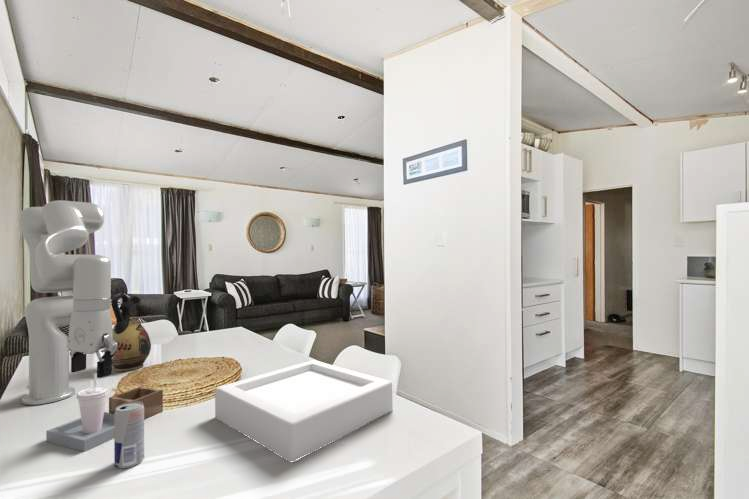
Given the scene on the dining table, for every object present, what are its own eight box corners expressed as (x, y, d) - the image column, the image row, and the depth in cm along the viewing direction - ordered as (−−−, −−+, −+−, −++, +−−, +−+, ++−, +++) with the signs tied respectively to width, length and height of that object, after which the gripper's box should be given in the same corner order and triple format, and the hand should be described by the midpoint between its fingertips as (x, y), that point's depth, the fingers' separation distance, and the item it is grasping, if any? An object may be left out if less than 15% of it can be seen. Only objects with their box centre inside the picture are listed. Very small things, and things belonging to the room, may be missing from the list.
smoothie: (90, 437, 88) (92, 378, 89) (68, 434, 90) (70, 376, 90) (114, 425, 95) (115, 370, 95) (93, 423, 96) (94, 368, 96)
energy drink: (123, 456, 82) (123, 401, 82) (149, 454, 82) (149, 400, 83) (108, 470, 77) (108, 412, 77) (135, 468, 77) (135, 410, 77)
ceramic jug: (126, 362, 155) (126, 290, 156) (159, 363, 153) (159, 290, 154) (89, 375, 139) (89, 295, 139) (126, 376, 136) (126, 295, 137)
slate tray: (46, 441, 89) (46, 430, 89) (98, 420, 100) (98, 410, 100) (84, 451, 84) (84, 440, 84) (135, 428, 95) (135, 418, 95)
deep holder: (108, 419, 100) (108, 397, 100) (140, 407, 109) (140, 386, 109) (132, 425, 97) (132, 402, 97) (162, 411, 105) (162, 390, 106)
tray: (214, 419, 101) (213, 387, 101) (313, 384, 128) (313, 359, 128) (291, 466, 78) (291, 424, 78) (393, 412, 105) (393, 380, 105)
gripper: (53, 305, 92) (52, 373, 92) (99, 310, 86) (98, 383, 86) (85, 301, 99) (85, 364, 99) (130, 305, 93) (130, 373, 93)
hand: (91, 373), depth 93 cm, fingers open, 9 cm apart
